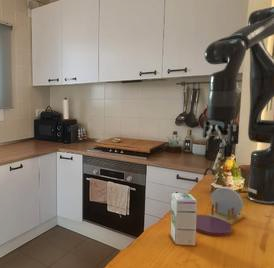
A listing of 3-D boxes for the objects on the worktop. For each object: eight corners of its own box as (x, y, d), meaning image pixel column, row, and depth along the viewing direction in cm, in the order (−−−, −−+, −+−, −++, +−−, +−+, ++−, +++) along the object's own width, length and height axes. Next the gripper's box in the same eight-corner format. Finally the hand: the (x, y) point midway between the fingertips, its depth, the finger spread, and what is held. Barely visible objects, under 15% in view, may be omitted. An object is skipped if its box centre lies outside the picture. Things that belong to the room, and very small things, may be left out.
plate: (211, 209, 103) (213, 184, 102) (242, 219, 95) (244, 191, 93) (209, 210, 103) (211, 184, 101) (240, 220, 94) (242, 192, 93)
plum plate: (198, 214, 102) (198, 211, 101) (238, 228, 91) (239, 225, 90) (178, 224, 95) (178, 221, 95) (219, 240, 84) (219, 237, 84)
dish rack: (220, 210, 105) (221, 197, 104) (243, 217, 98) (245, 204, 98) (206, 217, 99) (207, 204, 99) (230, 225, 93) (231, 211, 92)
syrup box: (196, 246, 81) (198, 200, 79) (174, 244, 83) (176, 199, 80) (189, 236, 87) (191, 193, 85) (169, 235, 88) (171, 192, 86)
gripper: (250, 105, 80) (245, 158, 83) (219, 103, 94) (216, 149, 97) (224, 106, 81) (220, 159, 83) (197, 104, 95) (194, 149, 97)
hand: (218, 153), depth 90 cm, fingers open, 8 cm apart
